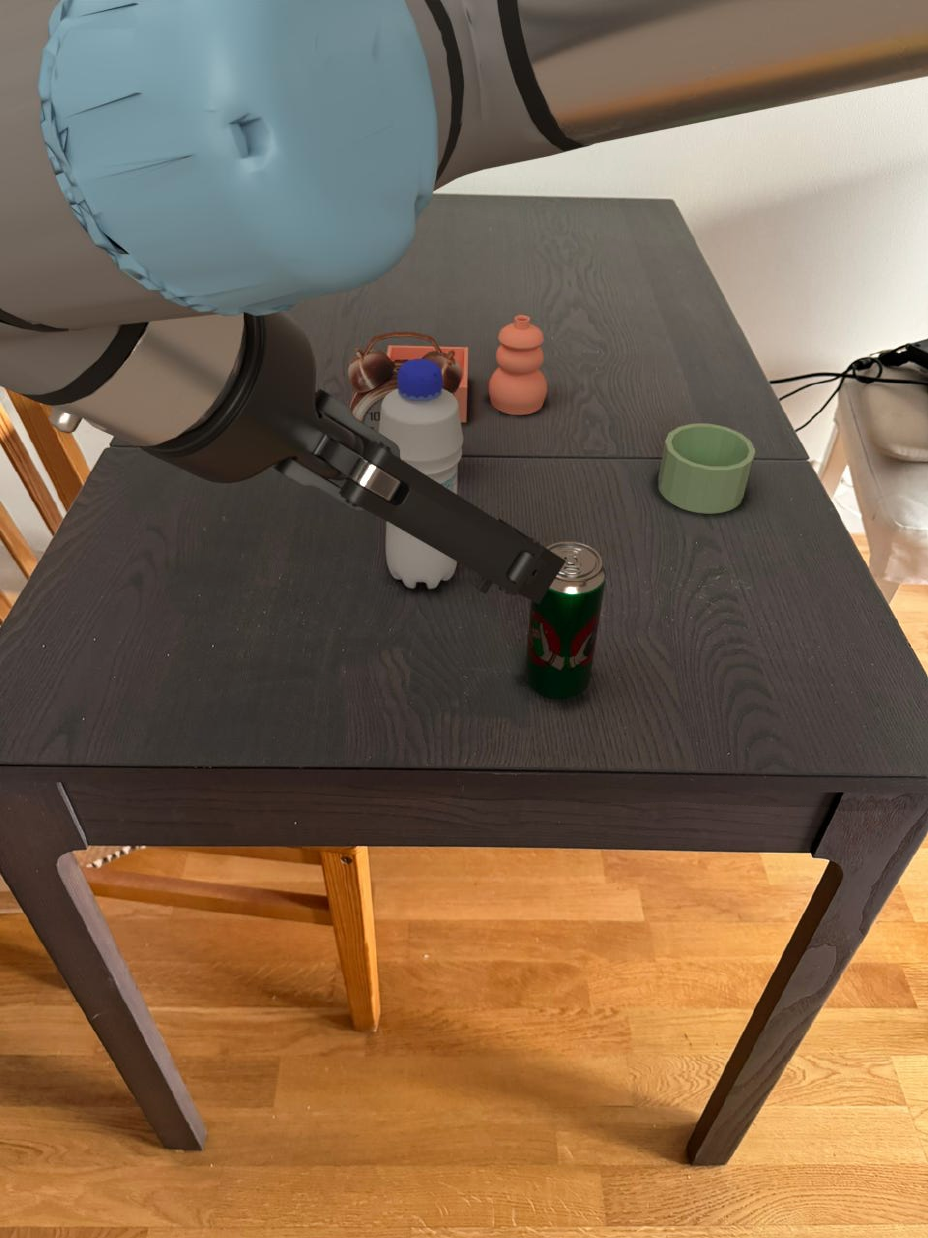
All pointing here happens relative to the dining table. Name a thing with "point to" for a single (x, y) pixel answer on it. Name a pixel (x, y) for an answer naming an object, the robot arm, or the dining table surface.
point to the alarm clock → (390, 376)
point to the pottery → (500, 369)
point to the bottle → (422, 460)
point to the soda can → (566, 625)
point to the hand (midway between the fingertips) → (459, 523)
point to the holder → (705, 468)
